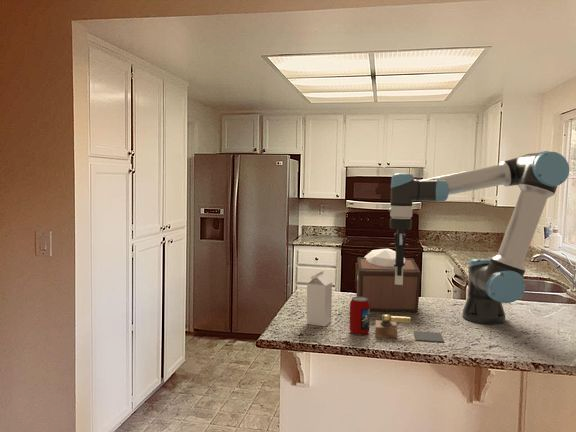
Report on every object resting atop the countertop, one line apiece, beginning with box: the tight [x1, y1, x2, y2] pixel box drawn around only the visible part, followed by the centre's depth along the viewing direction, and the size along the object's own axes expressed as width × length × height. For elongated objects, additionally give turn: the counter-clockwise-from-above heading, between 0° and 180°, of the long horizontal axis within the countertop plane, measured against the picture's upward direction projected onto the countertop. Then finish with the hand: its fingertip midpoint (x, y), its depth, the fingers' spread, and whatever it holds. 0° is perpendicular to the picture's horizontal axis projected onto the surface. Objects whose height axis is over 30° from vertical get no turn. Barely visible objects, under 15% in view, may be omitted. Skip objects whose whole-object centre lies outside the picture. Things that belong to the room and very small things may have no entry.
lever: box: [381, 313, 412, 324], centre depth 158 cm, size 9×3×2 cm, turn 79°
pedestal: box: [374, 319, 398, 340], centre depth 159 cm, size 7×8×4 cm
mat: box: [413, 330, 445, 344], centre depth 156 cm, size 9×9×1 cm
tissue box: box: [355, 248, 422, 313], centre depth 198 cm, size 24×28×24 cm
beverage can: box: [349, 296, 371, 336], centre depth 160 cm, size 7×7×12 cm
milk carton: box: [306, 270, 333, 327], centre depth 171 cm, size 7×7×19 cm
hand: (398, 284), depth 165 cm, fingers closed
